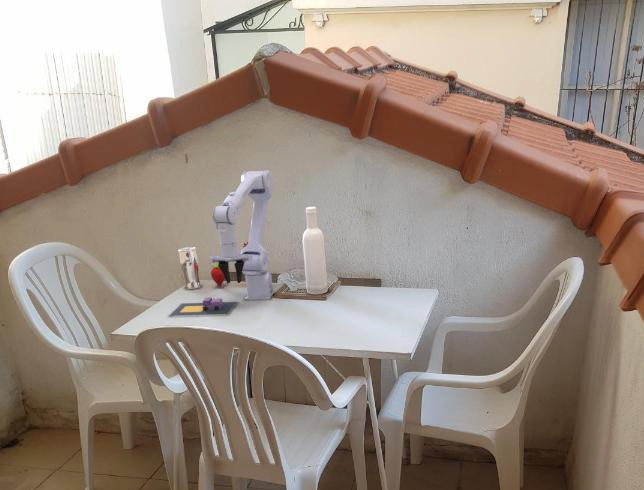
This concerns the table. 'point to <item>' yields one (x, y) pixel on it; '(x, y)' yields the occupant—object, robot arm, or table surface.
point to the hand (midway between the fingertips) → (234, 282)
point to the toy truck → (212, 304)
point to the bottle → (314, 255)
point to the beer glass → (190, 267)
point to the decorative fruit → (217, 275)
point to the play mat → (201, 309)
